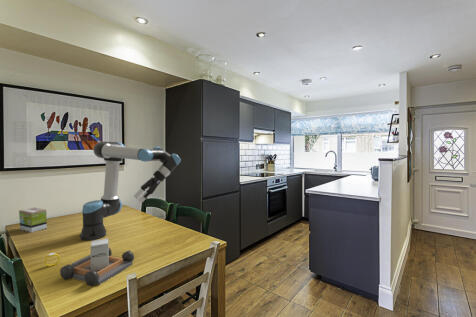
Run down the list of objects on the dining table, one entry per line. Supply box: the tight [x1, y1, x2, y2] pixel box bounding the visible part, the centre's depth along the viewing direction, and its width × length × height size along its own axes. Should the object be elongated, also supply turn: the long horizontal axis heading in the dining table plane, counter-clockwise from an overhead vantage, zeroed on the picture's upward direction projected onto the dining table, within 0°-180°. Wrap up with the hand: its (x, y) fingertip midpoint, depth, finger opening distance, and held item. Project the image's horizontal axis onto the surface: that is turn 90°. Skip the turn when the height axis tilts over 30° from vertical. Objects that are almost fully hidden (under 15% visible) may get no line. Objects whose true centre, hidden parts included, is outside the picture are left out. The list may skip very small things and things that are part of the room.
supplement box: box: [90, 238, 109, 271], centre depth 111 cm, size 7×7×13 cm
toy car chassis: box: [59, 246, 135, 287], centre depth 112 cm, size 22×22×6 cm
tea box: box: [18, 207, 48, 233], centre depth 170 cm, size 15×10×15 cm
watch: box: [44, 252, 61, 268], centre depth 117 cm, size 6×3×6 cm, turn 133°
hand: (137, 199), depth 141 cm, fingers open, 13 cm apart
